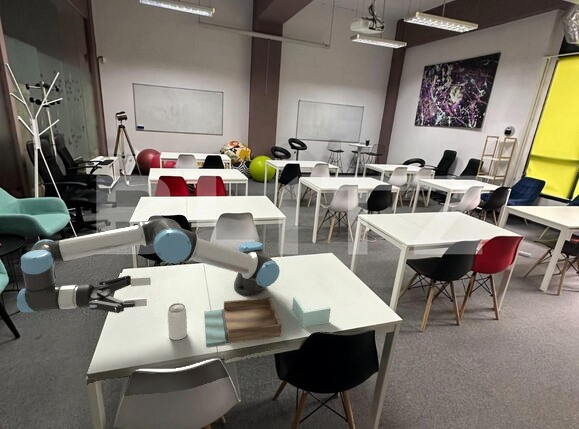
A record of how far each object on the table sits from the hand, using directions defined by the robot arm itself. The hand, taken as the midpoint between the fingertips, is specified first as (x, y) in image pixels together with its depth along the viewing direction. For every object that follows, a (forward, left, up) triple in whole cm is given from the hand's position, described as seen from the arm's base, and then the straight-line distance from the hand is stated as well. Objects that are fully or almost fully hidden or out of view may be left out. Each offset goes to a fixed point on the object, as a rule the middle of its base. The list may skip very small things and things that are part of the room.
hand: (148, 290), depth 111 cm
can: (-1, +9, -20) cm, 22 cm away
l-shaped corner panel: (-3, +63, -21) cm, 66 cm away
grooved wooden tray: (-3, +33, -20) cm, 39 cm away
